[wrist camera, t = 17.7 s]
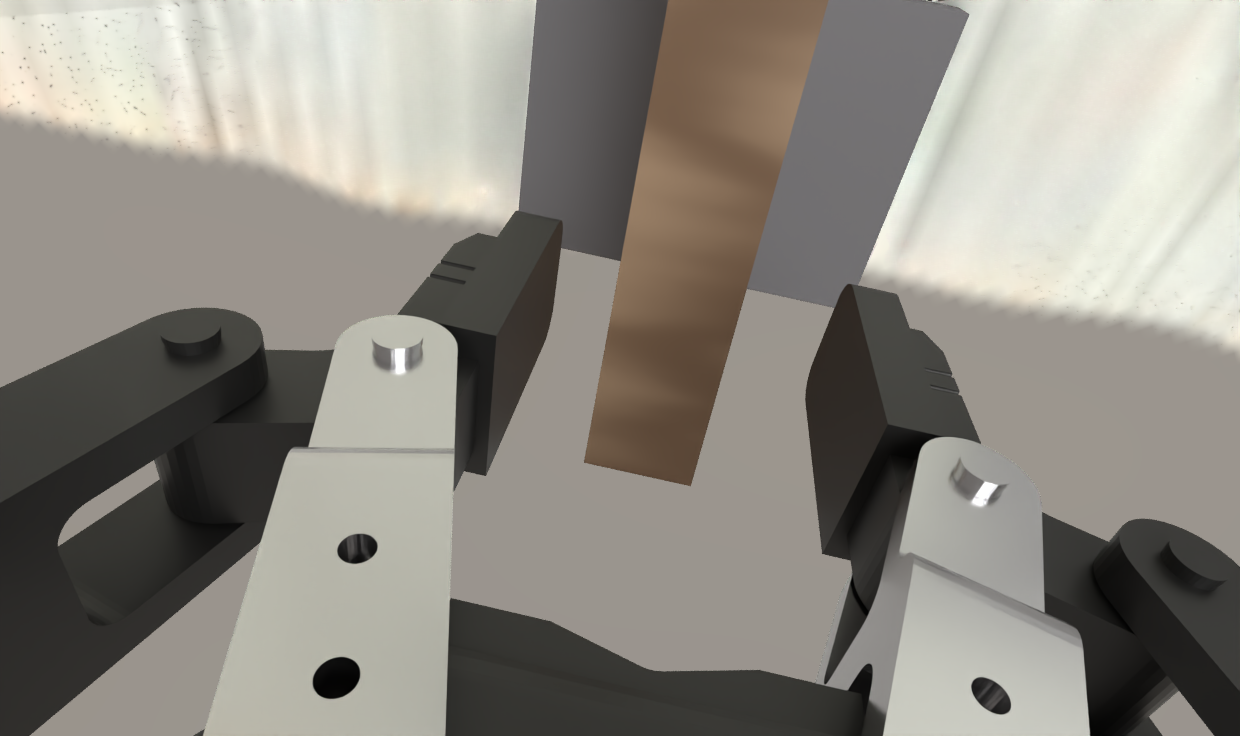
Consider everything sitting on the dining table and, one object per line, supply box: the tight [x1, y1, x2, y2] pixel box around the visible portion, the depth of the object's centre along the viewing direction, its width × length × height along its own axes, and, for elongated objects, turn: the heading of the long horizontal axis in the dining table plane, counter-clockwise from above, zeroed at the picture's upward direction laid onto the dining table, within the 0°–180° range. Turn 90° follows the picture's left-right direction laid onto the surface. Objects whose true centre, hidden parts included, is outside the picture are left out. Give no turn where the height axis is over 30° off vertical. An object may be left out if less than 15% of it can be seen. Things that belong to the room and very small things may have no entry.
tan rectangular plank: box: [584, 0, 829, 486], centre depth 15 cm, size 2×6×16 cm
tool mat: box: [519, 0, 969, 308], centre depth 19 cm, size 10×8×1 cm
